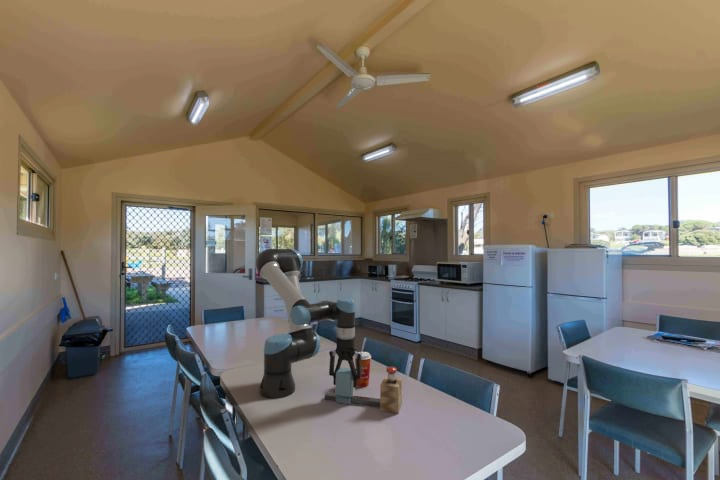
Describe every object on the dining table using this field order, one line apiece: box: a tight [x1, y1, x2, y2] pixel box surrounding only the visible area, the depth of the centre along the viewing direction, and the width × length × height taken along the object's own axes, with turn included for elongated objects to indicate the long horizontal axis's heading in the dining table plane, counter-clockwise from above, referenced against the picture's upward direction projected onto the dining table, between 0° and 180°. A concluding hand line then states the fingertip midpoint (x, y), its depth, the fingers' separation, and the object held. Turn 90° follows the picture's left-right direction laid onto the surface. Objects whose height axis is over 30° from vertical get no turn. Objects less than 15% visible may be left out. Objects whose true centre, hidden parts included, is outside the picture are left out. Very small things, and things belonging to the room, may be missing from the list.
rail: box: [324, 391, 380, 408], centre depth 137 cm, size 24×3×2 cm, turn 74°
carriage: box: [335, 367, 353, 405], centre depth 138 cm, size 6×6×12 cm
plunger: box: [385, 366, 398, 384], centre depth 133 cm, size 4×4×6 cm
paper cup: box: [354, 351, 372, 388], centre depth 155 cm, size 8×8×14 cm
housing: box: [379, 376, 403, 414], centre depth 133 cm, size 7×9×10 cm
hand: (345, 393), depth 138 cm, fingers closed on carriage, 6 cm apart
